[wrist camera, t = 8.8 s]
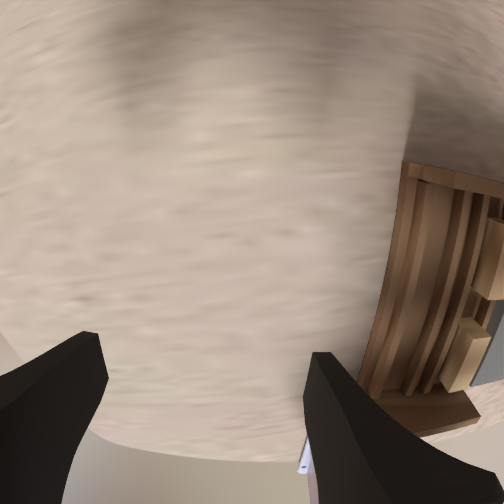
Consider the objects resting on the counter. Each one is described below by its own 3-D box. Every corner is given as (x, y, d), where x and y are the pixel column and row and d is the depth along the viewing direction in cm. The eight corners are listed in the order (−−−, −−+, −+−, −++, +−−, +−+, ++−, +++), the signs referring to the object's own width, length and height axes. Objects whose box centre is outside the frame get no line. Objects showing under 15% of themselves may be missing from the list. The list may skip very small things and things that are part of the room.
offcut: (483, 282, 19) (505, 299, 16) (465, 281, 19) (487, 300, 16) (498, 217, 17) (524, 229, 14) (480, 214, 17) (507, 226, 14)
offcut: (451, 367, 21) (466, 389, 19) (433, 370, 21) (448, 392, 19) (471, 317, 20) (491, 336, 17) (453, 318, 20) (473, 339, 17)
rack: (449, 380, 23) (476, 422, 18) (353, 391, 23) (371, 445, 18) (507, 185, 17) (561, 201, 12) (402, 161, 17) (455, 171, 12)
